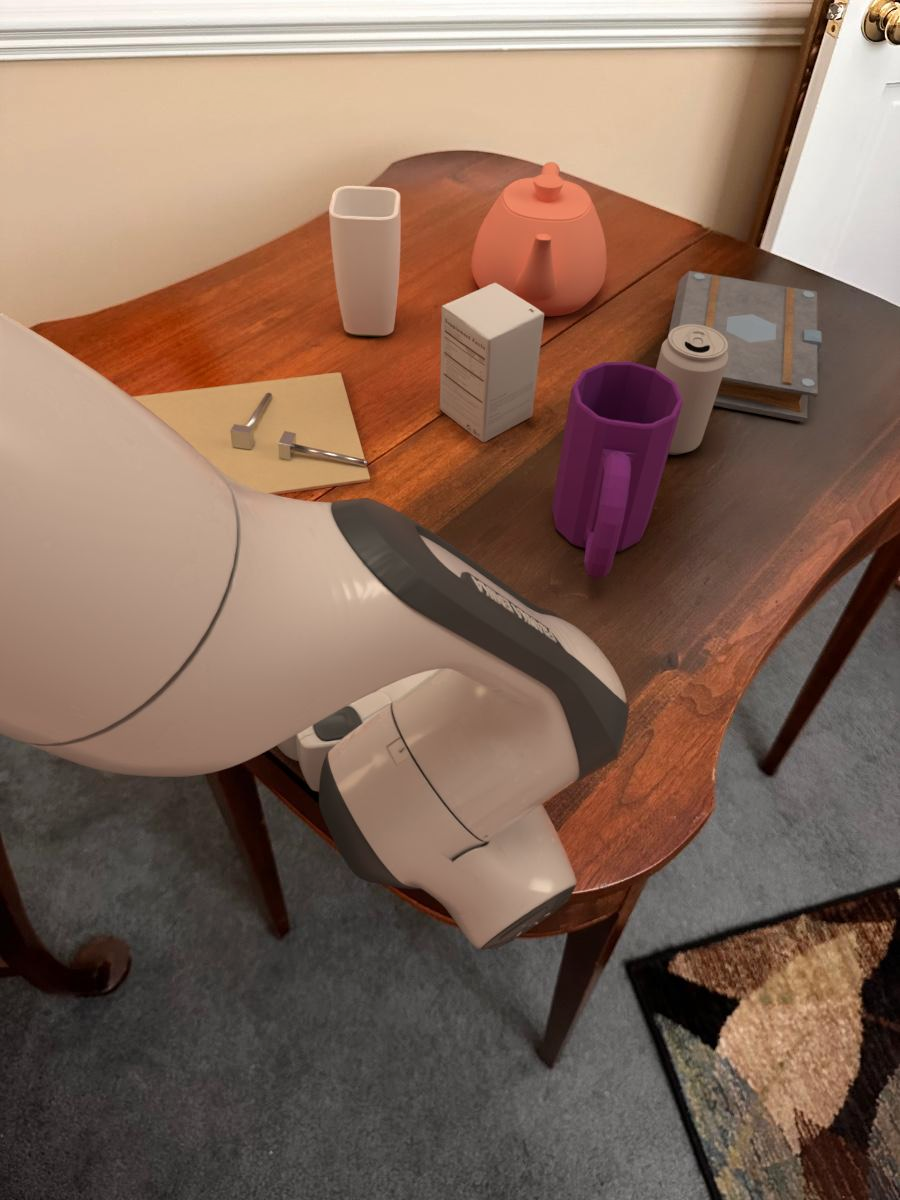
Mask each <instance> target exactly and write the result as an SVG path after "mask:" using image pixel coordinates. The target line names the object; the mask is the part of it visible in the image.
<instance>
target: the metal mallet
mask: <svg viewBox="0 0 900 1200" xmlns="http://www.w3.org/2000/svg"><path fill="white" fill-rule="evenodd" d="M278 448H279V458H280V459H285V460H289V461H290V460H291V458H292V456H293V454H294V452H295V451H297V452H301V453H306V454H310V455H314V456H319V457H323V458H328V459H332V460H336V461H341V462H345V463H350V464H354V465H358V466H363V467H366V466H367V467H368V466H369V461H368V460H367V459H365V460H364V459H360V458H355V457H351V456H346V455H342V454H338V453H333V452H329V451H324V450H320V449H315V448H311V447H307V446H302V445H298V444H296V433H292V432H288V431H284V433H283V435H282V437H281V439H280V441H279V443H278Z"/></svg>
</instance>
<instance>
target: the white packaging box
mask: <svg viewBox="0 0 900 1200" xmlns="http://www.w3.org/2000/svg"><path fill="white" fill-rule="evenodd" d="M440 319H441V320H440V321H441V323H440V325H441V327H440V328H441V329H440V371H439V375H440V376H439V409H440V411H441V412H442V413H443V414H445V415H446V416H447V417H448V418H450V419H451V420H453V421H454V422H455V423H456V424H458V425H459V426H460V427H461V428H463V429H464V430H465V431H467V432H468V433H469V434H470V435H472V436H473V437H475V438H476V439H477V440H479V441H480V442H481V443H483V444H484V443H486V442H488V441H490V440H492V439H493V438H495V437H497V436H499V435H500V434H502V433H504V432H507V431H508V430H510V429H512V428H513V427H516V426H517V425H519V424H521V423H523V422H524V421H526V420H528V419H530V418H532V417H533V413H534V412H533V411H534V404H535V396H536V395H535V394H536V386H537V380H538V379H537V378H538V370H539V362H540V354H541V347H542V346H541V345H542V336H543V329H544V321H545V320H544V319H545V316H544V313H543V312H541V311H540V310H539V309H537V308H536V307H534V306H533V305H531V304H529V303H528V302H526V301H525V300H523V299H521V298H520V297H518V296H516V295H515V294H513V293H512V292H510V291H508V290H507V289H505V288H504V287H502V286H500V285H499V284H497V283H492V284H490V285H488V286H486V287H484V288H481V289H480V288H479V289H476V290H475V291H473V292H470V293H468V294H466V295H463V296H461V297H459V298H457V299H454V300H452V301H450V302H447V303H444V304H442V305H441V318H440Z"/></svg>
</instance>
